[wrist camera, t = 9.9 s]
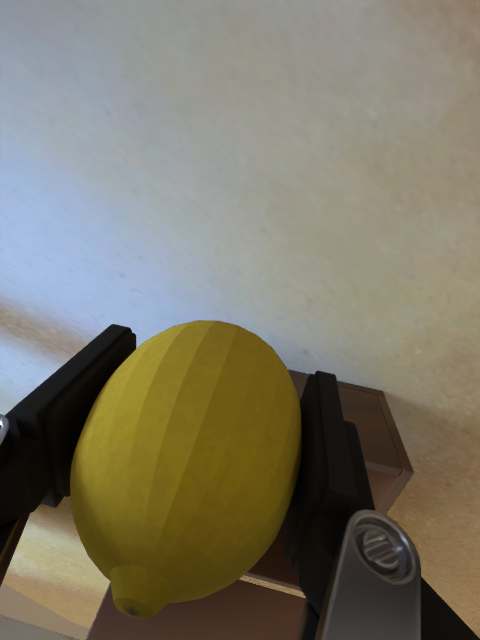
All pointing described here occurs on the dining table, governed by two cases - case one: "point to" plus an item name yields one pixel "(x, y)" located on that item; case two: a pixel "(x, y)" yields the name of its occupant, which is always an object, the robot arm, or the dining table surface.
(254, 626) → the lid
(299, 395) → the box
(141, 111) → the dining table surface
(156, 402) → the lemon
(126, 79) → the dining table surface
